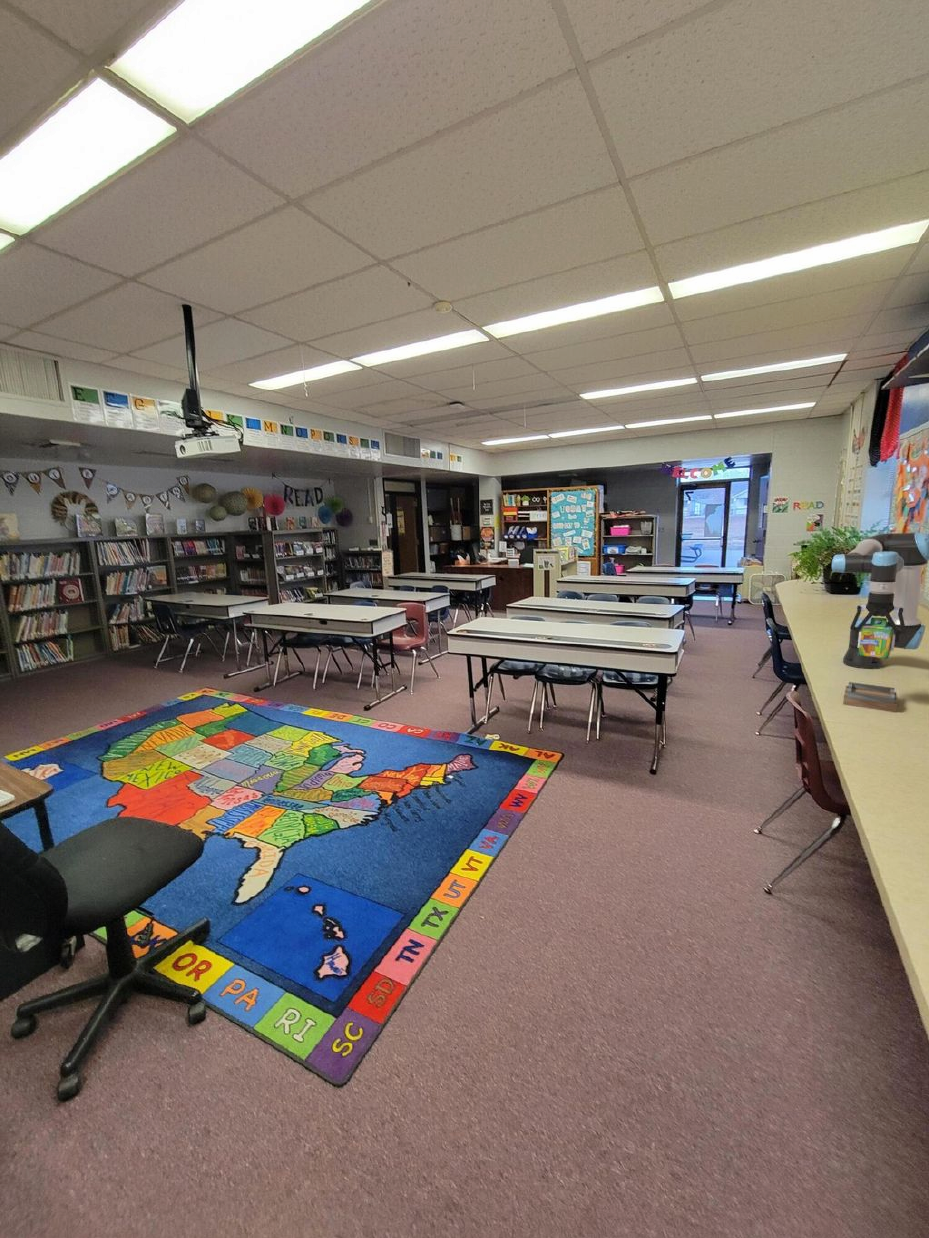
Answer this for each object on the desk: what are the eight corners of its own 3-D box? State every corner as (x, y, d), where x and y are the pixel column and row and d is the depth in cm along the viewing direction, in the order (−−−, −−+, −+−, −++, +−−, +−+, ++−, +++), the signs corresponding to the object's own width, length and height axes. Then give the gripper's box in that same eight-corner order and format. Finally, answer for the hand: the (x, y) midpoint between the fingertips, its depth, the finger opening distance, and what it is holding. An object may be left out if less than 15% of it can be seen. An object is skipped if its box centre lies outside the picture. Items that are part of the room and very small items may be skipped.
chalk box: (857, 655, 193) (861, 619, 190) (861, 650, 199) (865, 615, 197) (888, 659, 187) (893, 621, 184) (891, 654, 193) (895, 617, 190)
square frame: (845, 692, 208) (846, 681, 207) (895, 699, 198) (896, 687, 197) (843, 704, 196) (844, 692, 195) (896, 712, 186) (897, 699, 185)
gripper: (844, 592, 192) (839, 647, 197) (920, 595, 178) (913, 654, 183) (845, 589, 198) (840, 643, 202) (919, 592, 184) (912, 649, 188)
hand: (875, 648), depth 193 cm, fingers closed on chalk box, 9 cm apart
